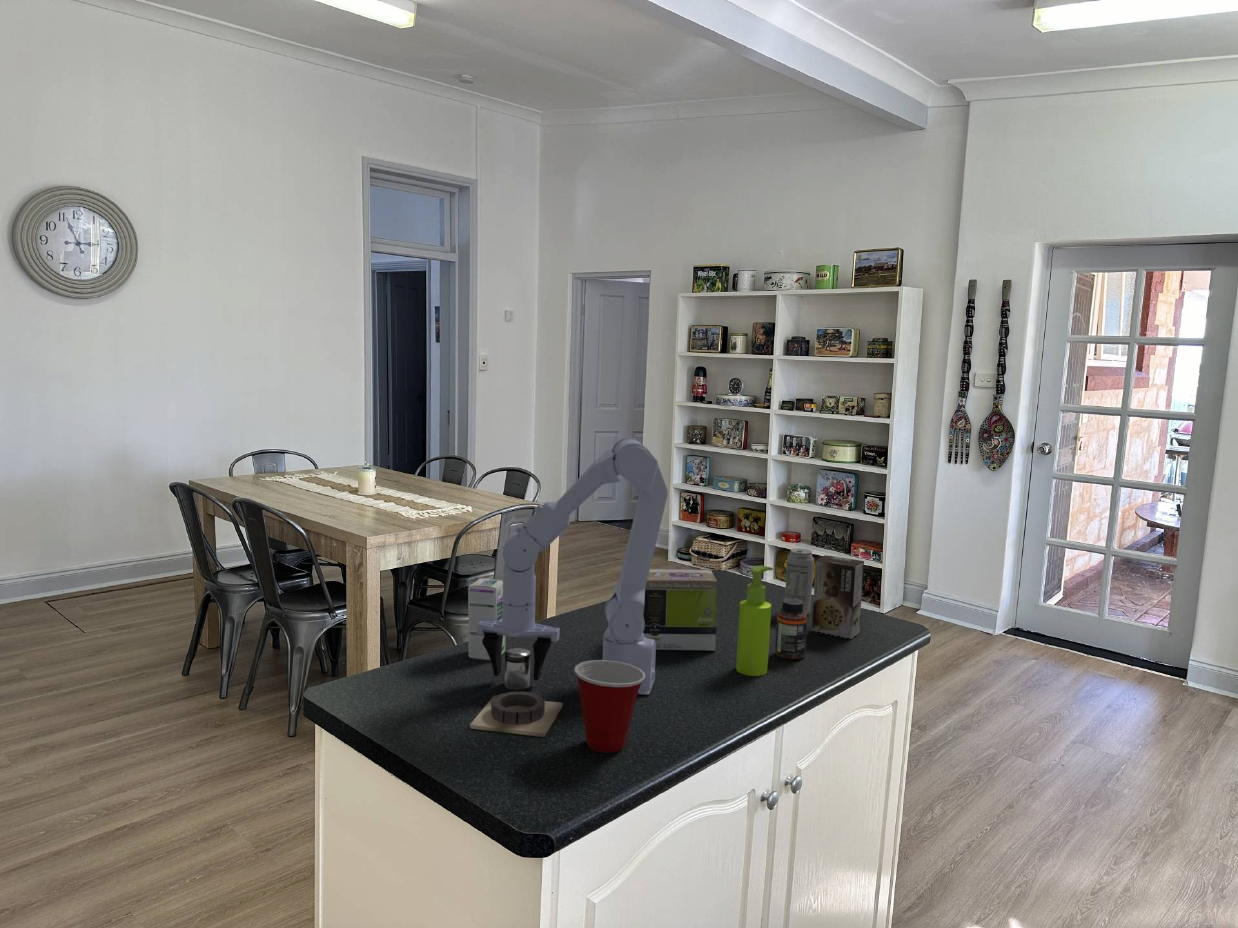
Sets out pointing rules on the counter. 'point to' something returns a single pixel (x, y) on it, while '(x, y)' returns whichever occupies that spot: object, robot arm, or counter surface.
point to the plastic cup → (607, 701)
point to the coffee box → (837, 596)
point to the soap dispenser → (754, 627)
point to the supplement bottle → (791, 630)
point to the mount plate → (517, 729)
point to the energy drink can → (800, 577)
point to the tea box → (681, 609)
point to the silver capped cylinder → (517, 668)
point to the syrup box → (483, 613)
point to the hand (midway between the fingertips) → (517, 675)
